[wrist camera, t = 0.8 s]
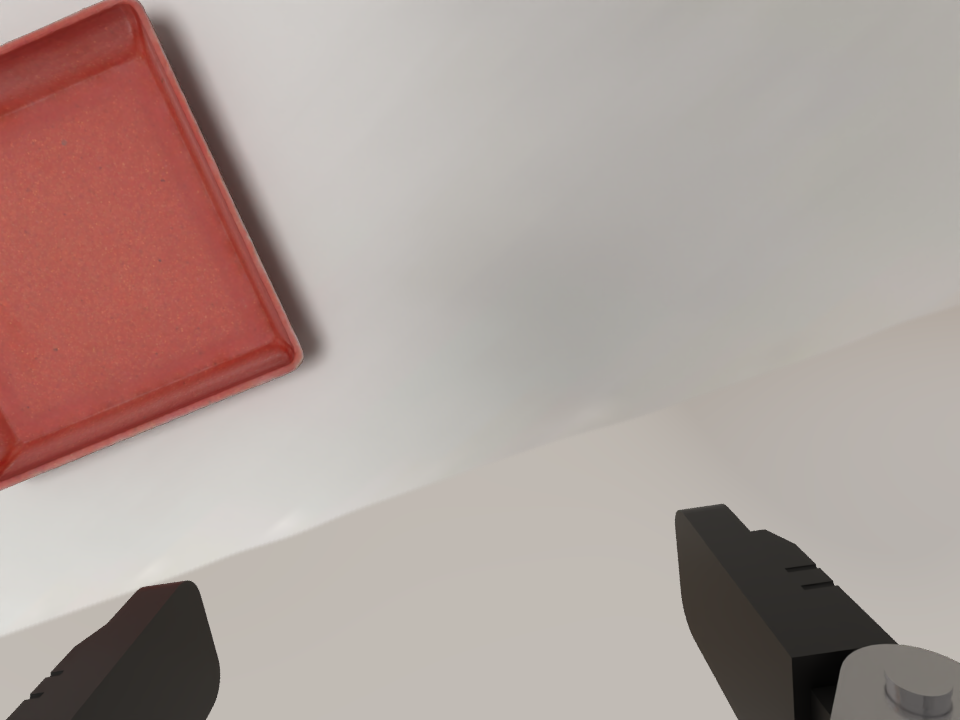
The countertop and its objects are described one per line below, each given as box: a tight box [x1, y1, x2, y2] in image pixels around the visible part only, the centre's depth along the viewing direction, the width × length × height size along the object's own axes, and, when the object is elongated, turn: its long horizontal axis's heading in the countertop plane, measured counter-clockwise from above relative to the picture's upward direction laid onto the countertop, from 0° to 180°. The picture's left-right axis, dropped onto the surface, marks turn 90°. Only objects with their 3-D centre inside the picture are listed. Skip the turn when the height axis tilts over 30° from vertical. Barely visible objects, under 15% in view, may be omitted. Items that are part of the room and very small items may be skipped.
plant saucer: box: [0, 0, 304, 491], centre depth 30 cm, size 18×18×3 cm
